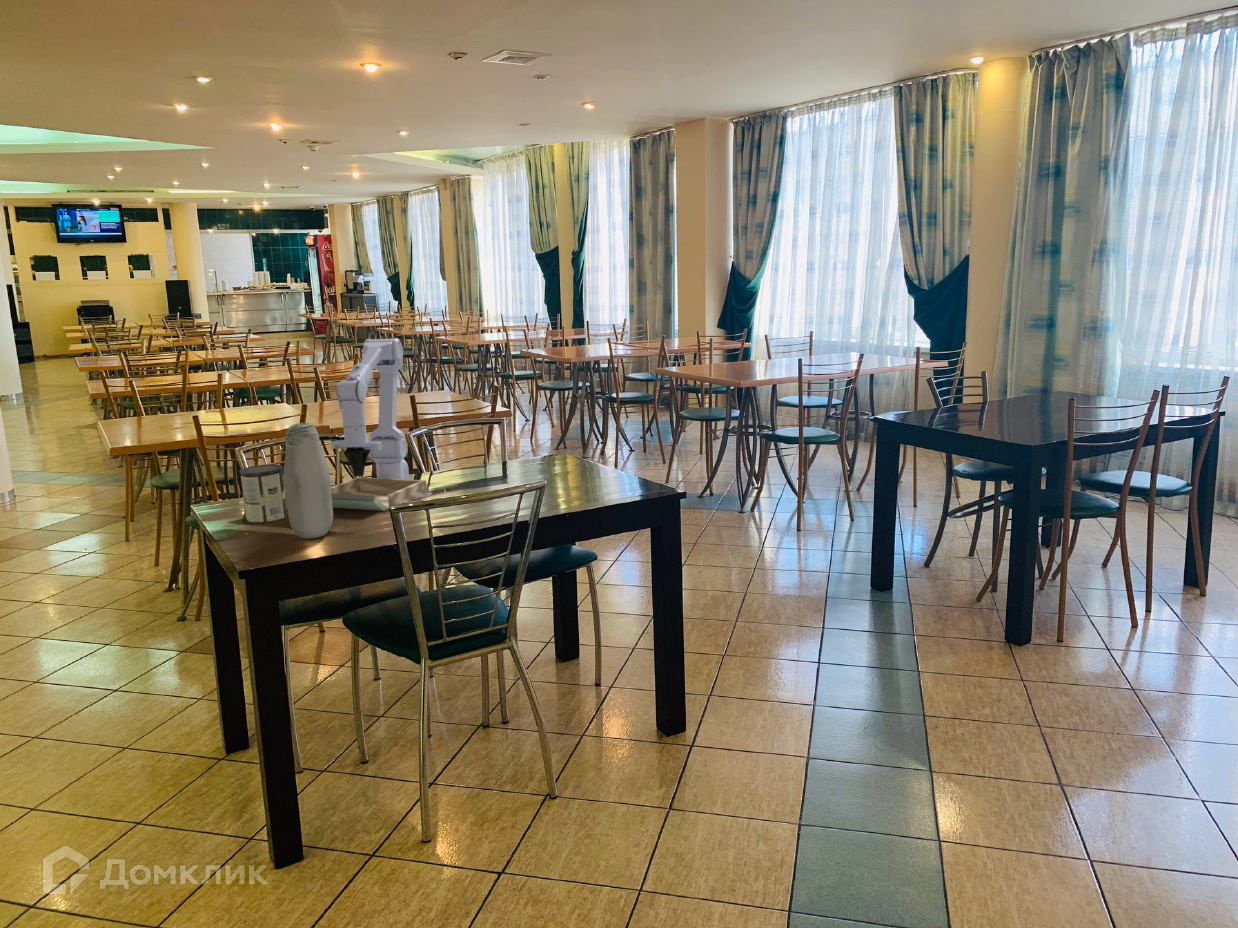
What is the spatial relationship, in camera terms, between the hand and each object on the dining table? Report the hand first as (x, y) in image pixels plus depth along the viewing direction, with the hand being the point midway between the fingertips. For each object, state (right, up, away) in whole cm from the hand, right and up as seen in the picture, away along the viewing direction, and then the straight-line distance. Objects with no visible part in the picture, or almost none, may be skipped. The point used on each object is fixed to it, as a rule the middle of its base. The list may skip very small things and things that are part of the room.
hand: (359, 475), depth 239 cm
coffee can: (-22, -12, -7) cm, 26 cm away
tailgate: (-1, -9, -1) cm, 9 cm away
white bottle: (-4, -15, -23) cm, 28 cm away
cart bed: (+2, -8, +7) cm, 11 cm away
